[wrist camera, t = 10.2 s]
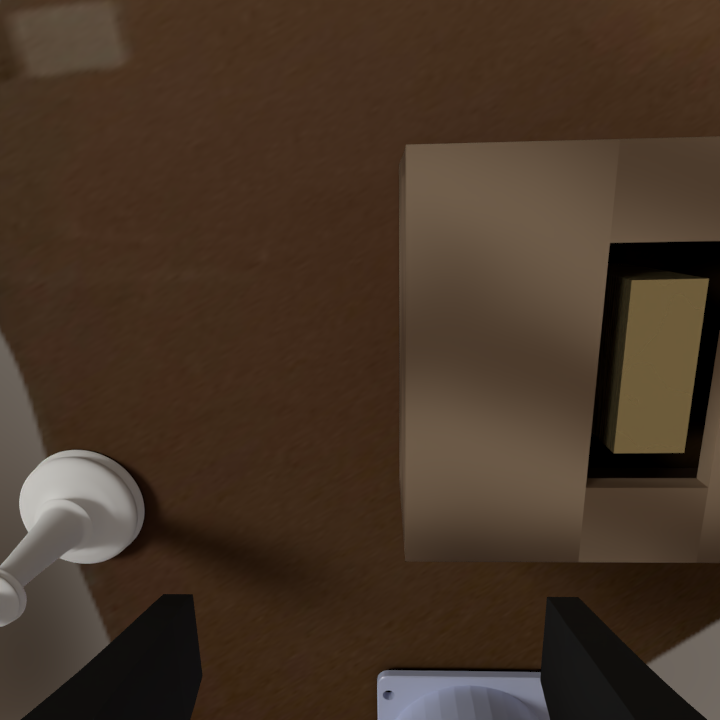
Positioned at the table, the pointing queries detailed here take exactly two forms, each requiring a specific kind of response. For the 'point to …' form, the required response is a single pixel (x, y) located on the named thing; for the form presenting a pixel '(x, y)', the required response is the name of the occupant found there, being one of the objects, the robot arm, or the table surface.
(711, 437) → the beige block with hole
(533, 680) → the robot arm
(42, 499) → the chess piece
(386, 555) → the table surface
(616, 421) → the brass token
